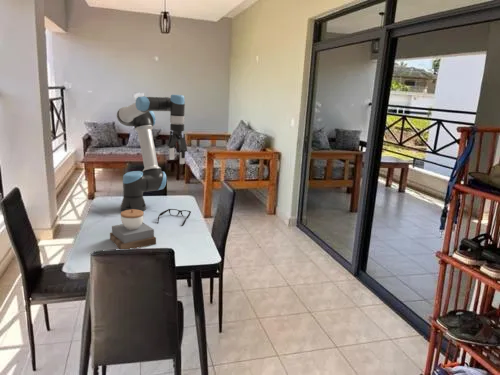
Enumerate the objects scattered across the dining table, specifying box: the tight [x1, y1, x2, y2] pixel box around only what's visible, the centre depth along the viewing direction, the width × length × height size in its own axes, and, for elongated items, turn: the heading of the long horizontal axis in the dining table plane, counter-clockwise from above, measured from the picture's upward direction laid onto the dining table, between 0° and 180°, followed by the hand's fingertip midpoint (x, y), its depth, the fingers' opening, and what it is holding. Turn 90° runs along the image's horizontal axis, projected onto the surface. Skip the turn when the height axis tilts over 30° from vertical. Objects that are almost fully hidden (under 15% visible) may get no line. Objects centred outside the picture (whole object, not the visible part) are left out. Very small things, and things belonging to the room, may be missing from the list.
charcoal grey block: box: [111, 221, 155, 243], centre depth 192 cm, size 15×15×4 cm
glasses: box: [157, 208, 192, 227], centre depth 227 cm, size 17×18×5 cm
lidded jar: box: [120, 209, 144, 230], centre depth 190 cm, size 11×11×9 cm
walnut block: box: [109, 231, 157, 250], centre depth 193 cm, size 17×17×4 cm
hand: (176, 161), depth 219 cm, fingers open, 13 cm apart
